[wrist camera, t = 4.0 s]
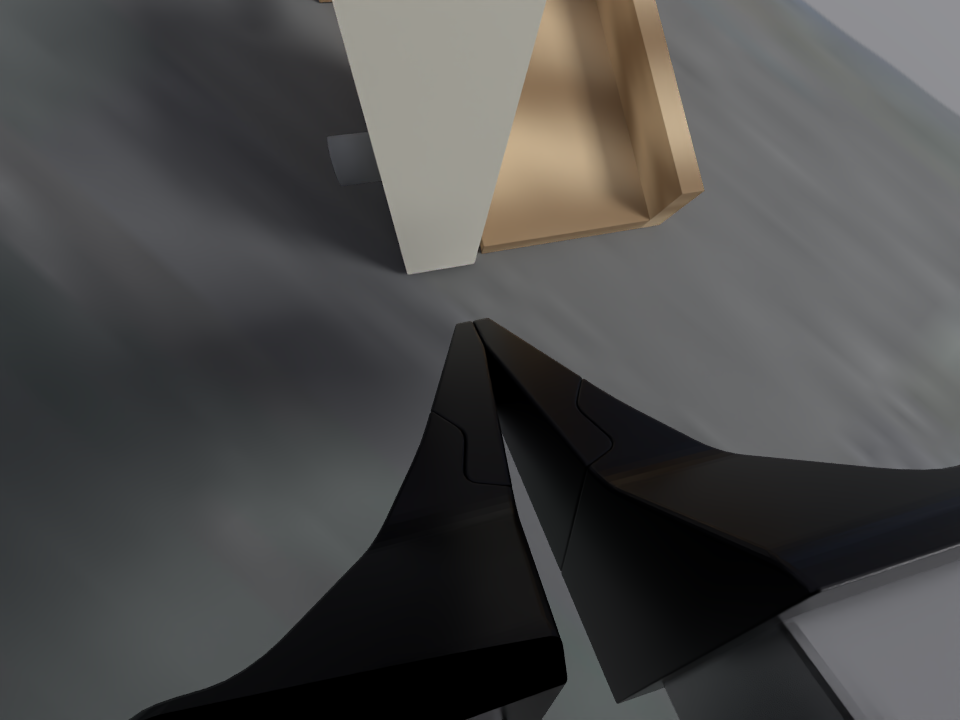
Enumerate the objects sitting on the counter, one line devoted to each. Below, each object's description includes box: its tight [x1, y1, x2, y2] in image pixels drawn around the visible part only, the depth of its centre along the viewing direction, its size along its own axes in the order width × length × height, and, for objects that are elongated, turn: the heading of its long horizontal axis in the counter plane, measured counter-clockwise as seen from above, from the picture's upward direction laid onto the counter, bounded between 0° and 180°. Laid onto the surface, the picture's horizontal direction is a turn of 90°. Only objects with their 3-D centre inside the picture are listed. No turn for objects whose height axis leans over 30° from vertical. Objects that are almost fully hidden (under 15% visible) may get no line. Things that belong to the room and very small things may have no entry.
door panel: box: [327, 0, 546, 275], centre depth 10 cm, size 8×4×11 cm, turn 12°
